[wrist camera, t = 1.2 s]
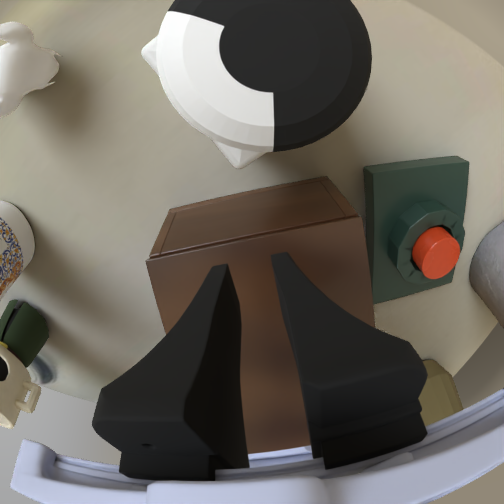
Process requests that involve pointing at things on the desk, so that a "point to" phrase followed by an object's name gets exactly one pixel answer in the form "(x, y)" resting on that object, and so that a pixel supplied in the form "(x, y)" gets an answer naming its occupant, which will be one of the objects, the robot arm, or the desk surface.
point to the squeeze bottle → (438, 394)
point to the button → (435, 252)
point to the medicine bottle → (262, 70)
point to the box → (251, 215)
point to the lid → (271, 313)
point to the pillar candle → (490, 272)
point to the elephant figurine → (22, 66)
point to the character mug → (19, 359)
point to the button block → (410, 219)
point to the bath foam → (13, 245)
